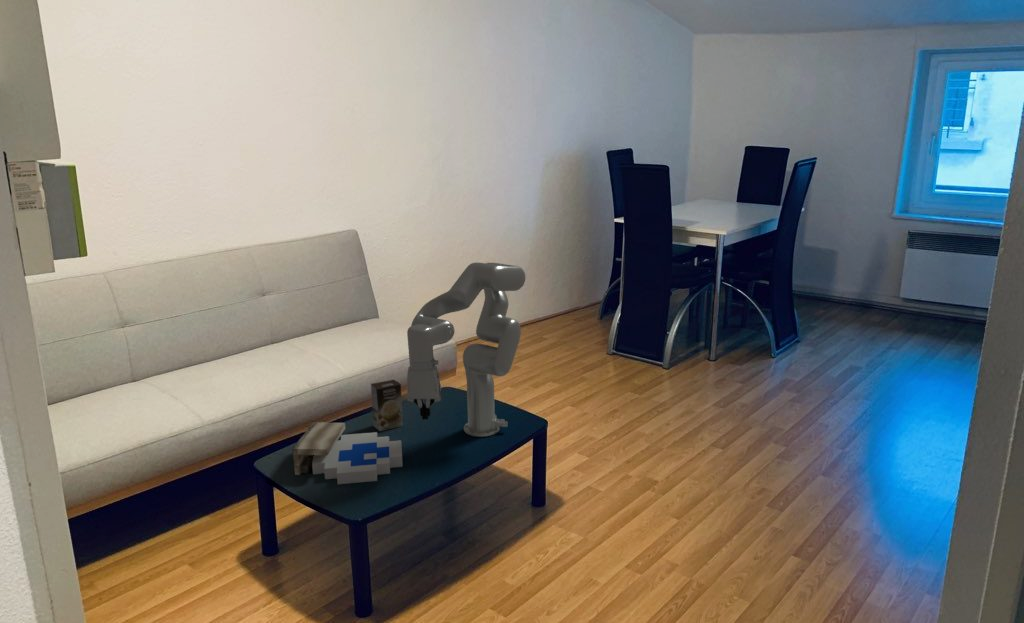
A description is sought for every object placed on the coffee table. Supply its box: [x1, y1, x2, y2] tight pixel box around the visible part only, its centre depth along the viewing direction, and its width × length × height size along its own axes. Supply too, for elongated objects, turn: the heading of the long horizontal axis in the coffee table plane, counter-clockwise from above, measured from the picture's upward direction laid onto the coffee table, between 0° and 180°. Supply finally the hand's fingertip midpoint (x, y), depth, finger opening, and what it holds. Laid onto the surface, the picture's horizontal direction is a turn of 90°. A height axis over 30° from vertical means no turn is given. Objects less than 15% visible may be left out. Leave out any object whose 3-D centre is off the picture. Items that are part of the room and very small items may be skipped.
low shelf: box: [292, 421, 346, 476], centre depth 255 cm, size 11×20×9 cm, turn 176°
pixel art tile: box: [311, 431, 404, 485], centre depth 255 cm, size 28×4×28 cm
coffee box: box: [370, 379, 404, 432], centre depth 280 cm, size 9×6×16 cm
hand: (425, 417), depth 250 cm, fingers closed
